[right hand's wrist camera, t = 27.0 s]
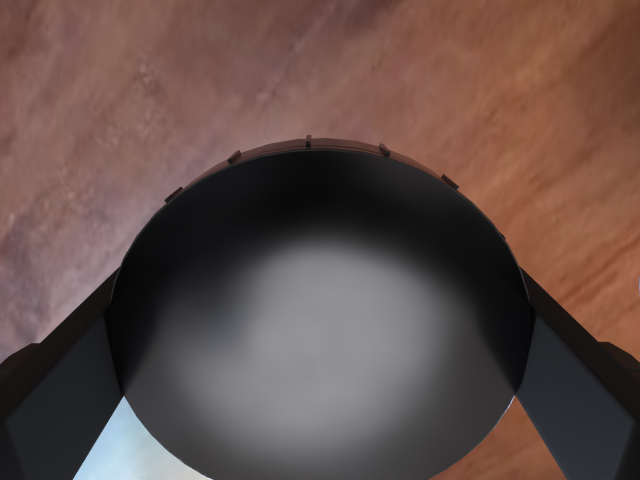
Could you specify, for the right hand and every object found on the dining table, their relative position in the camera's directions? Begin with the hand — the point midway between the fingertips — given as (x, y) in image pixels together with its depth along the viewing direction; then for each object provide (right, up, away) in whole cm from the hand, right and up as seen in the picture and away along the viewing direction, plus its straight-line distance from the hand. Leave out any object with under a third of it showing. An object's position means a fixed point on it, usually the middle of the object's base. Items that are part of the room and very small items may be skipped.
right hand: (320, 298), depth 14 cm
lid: (0, -1, -3) cm, 3 cm away
